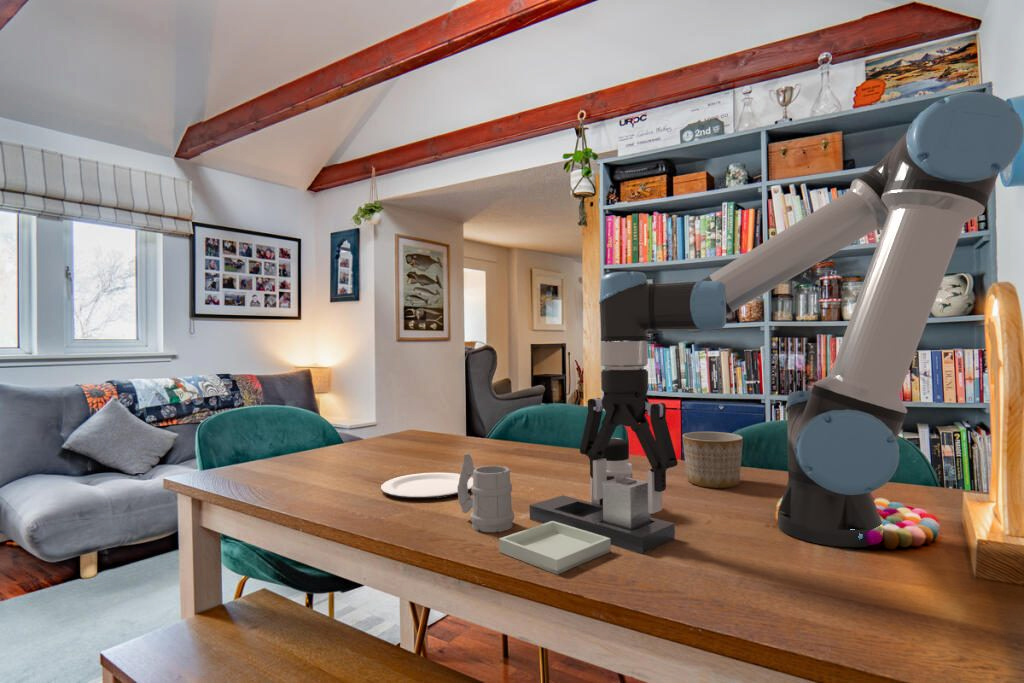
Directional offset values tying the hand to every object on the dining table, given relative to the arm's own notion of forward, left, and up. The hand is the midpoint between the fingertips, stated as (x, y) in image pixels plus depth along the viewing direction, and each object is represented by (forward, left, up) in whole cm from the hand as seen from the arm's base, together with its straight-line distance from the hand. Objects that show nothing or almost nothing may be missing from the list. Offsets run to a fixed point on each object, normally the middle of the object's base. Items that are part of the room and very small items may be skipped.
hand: (626, 504), depth 92 cm
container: (+12, -12, -6) cm, 18 cm away
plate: (+49, +5, -6) cm, 50 cm away
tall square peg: (0, 0, -5) cm, 5 cm away
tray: (+4, +13, -5) cm, 15 cm away
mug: (+22, +12, -6) cm, 26 cm away
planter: (+7, -42, -6) cm, 43 cm away
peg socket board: (+6, 0, -5) cm, 8 cm away
